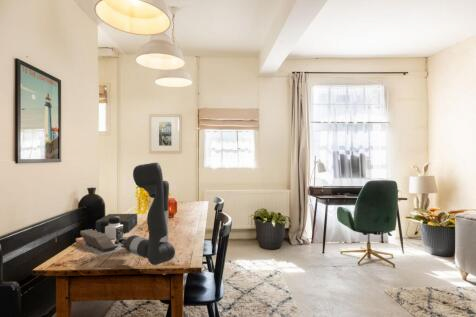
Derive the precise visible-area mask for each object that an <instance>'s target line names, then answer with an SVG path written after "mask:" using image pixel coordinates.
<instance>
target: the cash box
mask: <svg viewBox="0 0 476 317" xmlns="http://www.w3.org/2000/svg"><path fill="white" fill-rule="evenodd" d="M110 217H120V225H123V234H128V233H129V232H131V231H132V230H133V229H134V228H135V227H136V226H137V225H138V214H137V213H109V214H107V215H105V216H103V217H101V218H100V219H97V220H96V221H95V231H97V232H101V233H102V234H105V227H106V226H109V218H110Z"/></svg>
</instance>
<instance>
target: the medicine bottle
mask: <svg viewBox="0 0 476 317" xmlns="http://www.w3.org/2000/svg"><path fill="white" fill-rule="evenodd" d="M104 234H106V235H107V237H108V238H109V239H110V240H116V238H117V237H119V236H121V237H124V233H123V225H120V217H110V218H109V226H106V227H105V233H104Z"/></svg>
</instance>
